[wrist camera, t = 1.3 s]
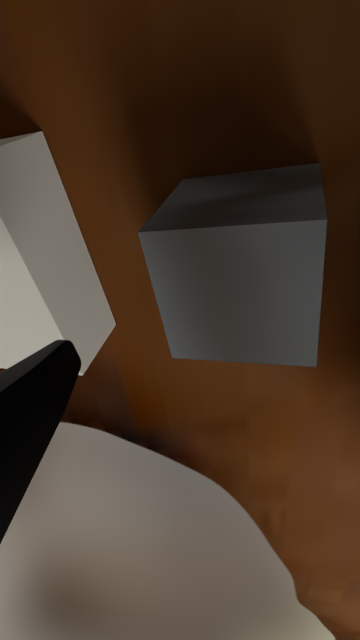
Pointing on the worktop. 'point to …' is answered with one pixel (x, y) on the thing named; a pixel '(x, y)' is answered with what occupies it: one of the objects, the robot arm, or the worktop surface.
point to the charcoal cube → (241, 265)
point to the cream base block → (44, 261)
